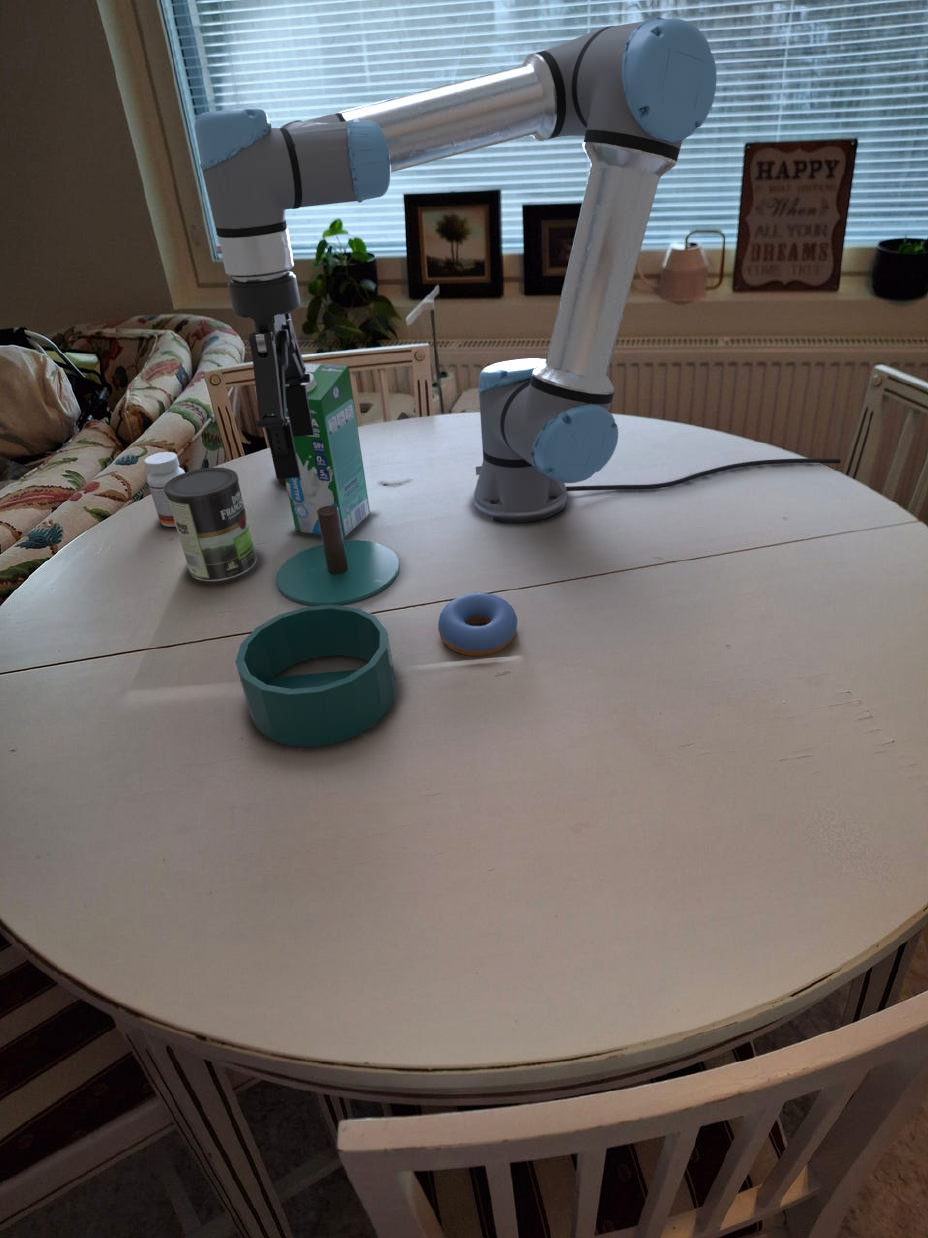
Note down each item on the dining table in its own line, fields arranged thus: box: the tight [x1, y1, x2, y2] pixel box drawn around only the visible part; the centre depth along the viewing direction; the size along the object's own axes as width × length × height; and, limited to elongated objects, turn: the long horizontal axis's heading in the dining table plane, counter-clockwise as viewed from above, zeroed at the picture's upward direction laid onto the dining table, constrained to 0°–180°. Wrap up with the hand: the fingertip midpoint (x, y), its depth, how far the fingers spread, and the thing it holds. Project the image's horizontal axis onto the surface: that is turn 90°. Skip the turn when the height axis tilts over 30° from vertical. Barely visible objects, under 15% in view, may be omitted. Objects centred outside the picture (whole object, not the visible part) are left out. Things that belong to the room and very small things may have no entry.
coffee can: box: [164, 467, 257, 582], centre depth 118 cm, size 10×10×14 cm
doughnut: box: [437, 592, 518, 657], centre depth 101 cm, size 10×10×5 cm
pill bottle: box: [143, 451, 186, 528], centre depth 134 cm, size 6×6×11 cm
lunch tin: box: [235, 604, 396, 748], centre depth 92 cm, size 17×17×8 cm
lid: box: [276, 506, 400, 606], centre depth 114 cm, size 18×18×11 cm
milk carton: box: [272, 362, 371, 539], centre depth 124 cm, size 9×9×25 cm
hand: (296, 455), depth 100 cm, fingers open, 13 cm apart
